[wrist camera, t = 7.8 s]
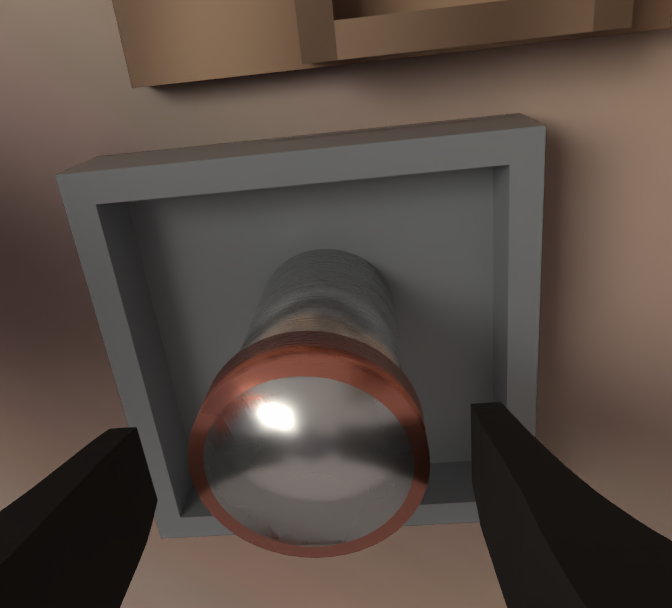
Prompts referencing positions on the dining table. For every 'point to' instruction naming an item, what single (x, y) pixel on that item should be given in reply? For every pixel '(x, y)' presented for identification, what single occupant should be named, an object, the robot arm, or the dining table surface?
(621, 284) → the dining table surface
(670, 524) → the dining table surface
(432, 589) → the dining table surface
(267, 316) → the pin
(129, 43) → the board
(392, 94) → the dining table surface
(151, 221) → the tray
